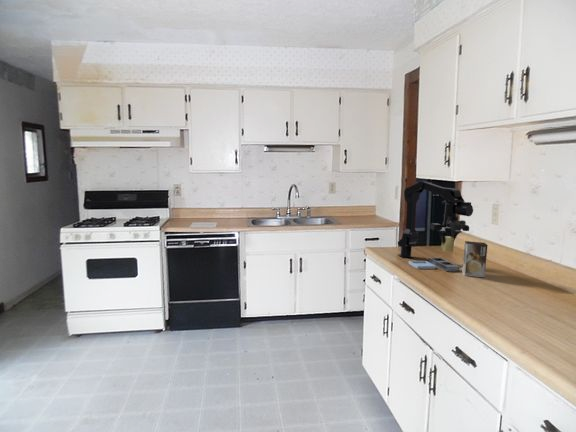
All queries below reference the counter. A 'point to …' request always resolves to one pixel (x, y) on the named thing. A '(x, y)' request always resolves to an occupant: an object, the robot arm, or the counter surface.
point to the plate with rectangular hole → (444, 264)
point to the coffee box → (474, 259)
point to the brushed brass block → (448, 244)
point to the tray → (422, 265)
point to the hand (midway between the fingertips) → (447, 243)
